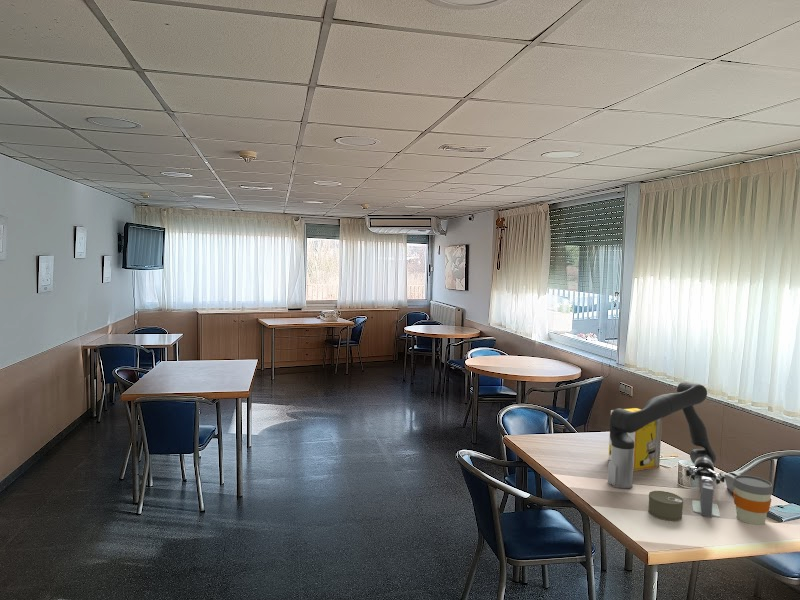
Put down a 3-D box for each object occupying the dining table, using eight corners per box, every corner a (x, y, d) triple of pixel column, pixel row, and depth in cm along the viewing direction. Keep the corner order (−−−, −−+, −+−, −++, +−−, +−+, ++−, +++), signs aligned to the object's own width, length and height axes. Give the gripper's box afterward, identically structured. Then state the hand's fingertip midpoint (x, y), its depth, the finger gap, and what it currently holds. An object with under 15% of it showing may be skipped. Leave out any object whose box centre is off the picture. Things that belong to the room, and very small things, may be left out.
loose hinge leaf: (709, 504, 212) (711, 477, 212) (710, 510, 207) (712, 482, 206) (700, 502, 214) (701, 475, 213) (700, 508, 209) (702, 480, 208)
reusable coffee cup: (756, 529, 192) (759, 489, 191) (723, 515, 204) (726, 477, 203) (778, 524, 197) (780, 485, 196) (744, 510, 209) (747, 473, 208)
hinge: (762, 504, 214) (755, 481, 214) (751, 508, 214) (744, 485, 214) (738, 488, 231) (731, 466, 230) (727, 491, 231) (721, 469, 231)
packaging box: (659, 467, 254) (662, 416, 253) (633, 470, 248) (636, 418, 247) (633, 455, 269) (635, 407, 268) (608, 459, 263) (610, 410, 262)
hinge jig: (692, 500, 216) (693, 474, 216) (717, 505, 212) (719, 478, 212) (693, 513, 204) (694, 486, 203) (720, 519, 200) (721, 491, 199)
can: (651, 504, 211) (652, 488, 211) (685, 513, 204) (686, 496, 204) (644, 515, 202) (645, 497, 202) (679, 524, 195) (680, 506, 194)
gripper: (686, 456, 236) (686, 467, 222) (723, 462, 229) (726, 474, 215) (685, 472, 237) (685, 485, 222) (722, 479, 230) (725, 492, 216)
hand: (705, 479), depth 219 cm, fingers open, 8 cm apart
